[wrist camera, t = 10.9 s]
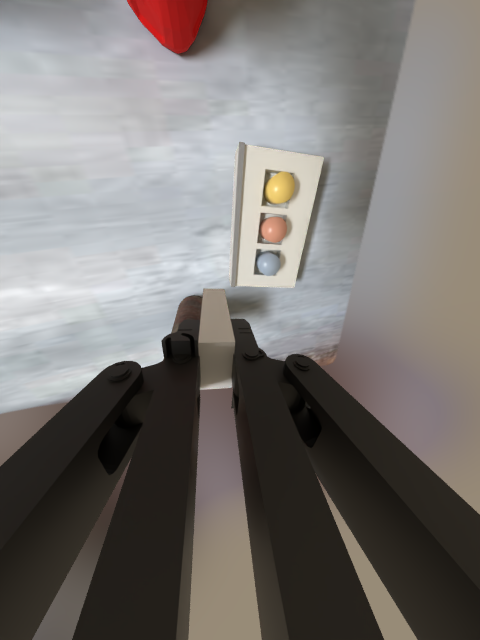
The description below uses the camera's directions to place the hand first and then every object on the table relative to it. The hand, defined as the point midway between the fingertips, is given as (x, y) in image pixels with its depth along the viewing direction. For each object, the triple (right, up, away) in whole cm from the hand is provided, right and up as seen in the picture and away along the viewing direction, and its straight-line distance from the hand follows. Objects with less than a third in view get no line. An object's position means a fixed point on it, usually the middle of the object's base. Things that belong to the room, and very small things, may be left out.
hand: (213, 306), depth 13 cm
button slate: (+7, +11, +24) cm, 27 cm away
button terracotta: (+8, +16, +21) cm, 28 cm away
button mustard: (+8, +22, +18) cm, 29 cm away
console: (+7, +18, +24) cm, 31 cm away
